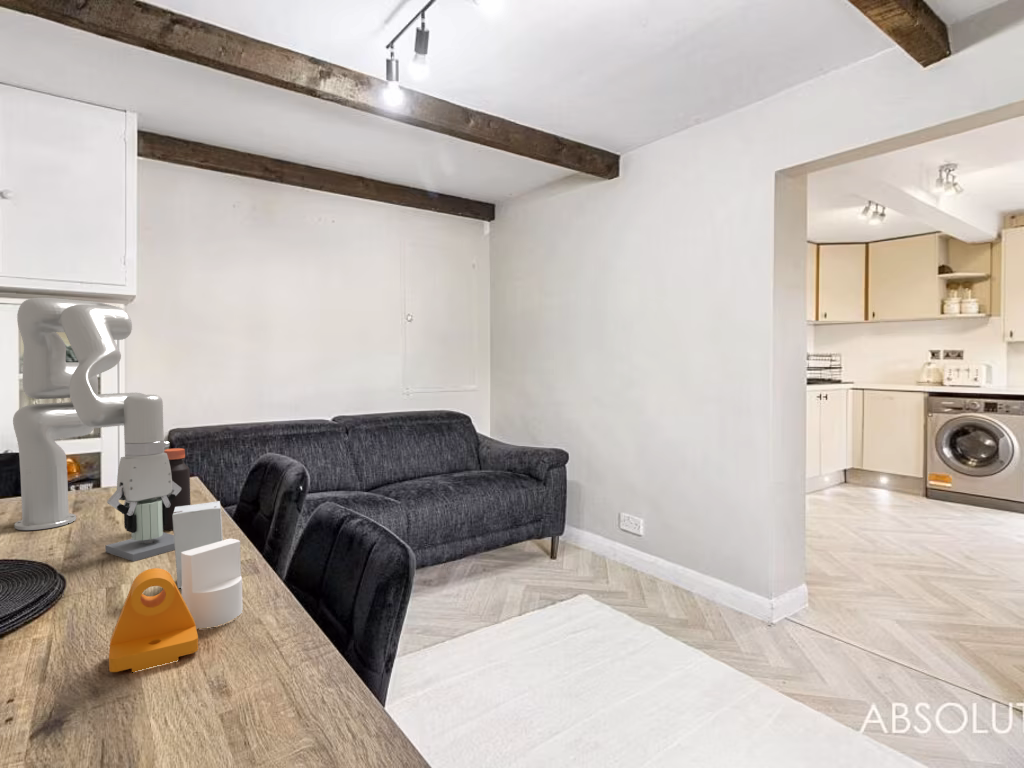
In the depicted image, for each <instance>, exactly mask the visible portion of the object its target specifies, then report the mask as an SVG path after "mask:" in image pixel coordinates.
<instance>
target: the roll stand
mask: <svg viewBox="0 0 1024 768" xmlns="http://www.w3.org/2000/svg"><path fill="white" fill-rule="evenodd" d="M104 551H105V553H107V554H111V555H113V556H117V557H119V558H122V559H125V560H128V561H131V562H137V561H140V560H143V559H147V558H151V557H154V556H157V555H161V554H165V553H168V552H172V551H175V544H174V534H171V533H167V532H164V531H163V535H162V536H160V537H158V538H154V539H149V540H133V539H132V538H129V539H125V540H121V541H118V542H113V543H109V544H106V545H105V550H104Z"/></svg>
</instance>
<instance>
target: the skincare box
mask: <svg viewBox="0 0 1024 768" xmlns="http://www.w3.org/2000/svg"><path fill="white" fill-rule="evenodd" d="M172 517H173V530H172V531H173V535H174V544H175V550H174V554H175V558H174V559H175V568H176V582H177V584H176V586H177V588H178V590H180V589H179V588H181V587H182V570H181V552H184V551H187V550H191V549H194V548H198V547H201V546H205V545H209V544H212V543H216V542H219V541H223V540H224V539H223V519H222V518H223V517H222V508H221V501H220V500H218V501H211V502H205V503H204V502H203V503H197V504H191V505H187V506H179V507H175V509H174V512H173V515H172Z"/></svg>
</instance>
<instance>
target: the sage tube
mask: <svg viewBox="0 0 1024 768" xmlns="http://www.w3.org/2000/svg"><path fill="white" fill-rule="evenodd" d="M134 515H136V523H137V531H136V532H135V533H131V532H130V533H131V535H130V537H131V539H133V540H149V539H154V538H158V537H160V536H162V535H163V532H164V530H163V515H162V499H159V498H153V499H149V500H144V501H138V502H137V504H136V507H135V510H134Z"/></svg>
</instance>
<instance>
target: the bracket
mask: <svg viewBox="0 0 1024 768" xmlns="http://www.w3.org/2000/svg"><path fill="white" fill-rule="evenodd" d="M151 587H160V588H162V589H161V591H160V592H159V593H158V594H156V595H151V596H148V595H145V594H144V591H146V590H147V589H149V588H151ZM109 641H110V642H109V649H108V650H109V652H108V671H109V673H118V672H123V671H126V670H129V669H130V670H131V673H132V672H135V671H138V670H142V669H146V668H149V667H153V666H157V665H162V664H165V663H170V662H173V661H177V660H179V657H183V656H186V655H190V654H194V653H196V652H198V650H199V634H198V631H197V629H196V625H195V621H194V619H193V617H192V615H191V613H190V611H189V609H188V607H187V605H186V603H185V601H184V599H183V597H182V592H181V591H180V589H178V585H177V584H176V581H175V579H174V578H173V576H172V575H171V573H170V572H169V571H168V570H166V569H163V568H159V567H154V568H149V569H146V570H143V571H142V572H140V573H139V574H138V575H137V576H136V577H135V578H134V580H132V584H131V585H130V588H129V590H128V594H127V596H126V599H125V602H124V603H123V606H122V608H121V610H120V613H119V617H118V619H117V621H116V624H115V626H114V630H113V631H112V634H111V636H110V639H109Z"/></svg>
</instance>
